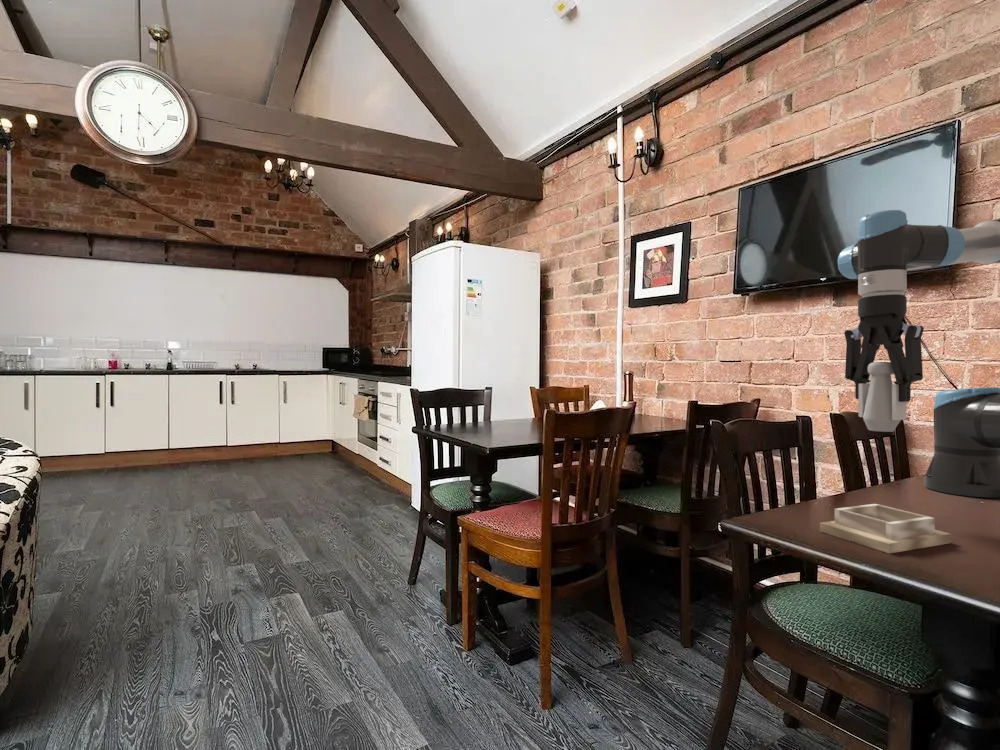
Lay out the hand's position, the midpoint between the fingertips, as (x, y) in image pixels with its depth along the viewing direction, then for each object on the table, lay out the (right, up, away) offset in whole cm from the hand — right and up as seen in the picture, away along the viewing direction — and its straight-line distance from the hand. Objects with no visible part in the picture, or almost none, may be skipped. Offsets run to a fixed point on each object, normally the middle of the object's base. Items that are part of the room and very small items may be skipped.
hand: (881, 417), depth 103 cm
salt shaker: (0, -3, 0) cm, 3 cm away
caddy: (-8, -19, -12) cm, 24 cm away
